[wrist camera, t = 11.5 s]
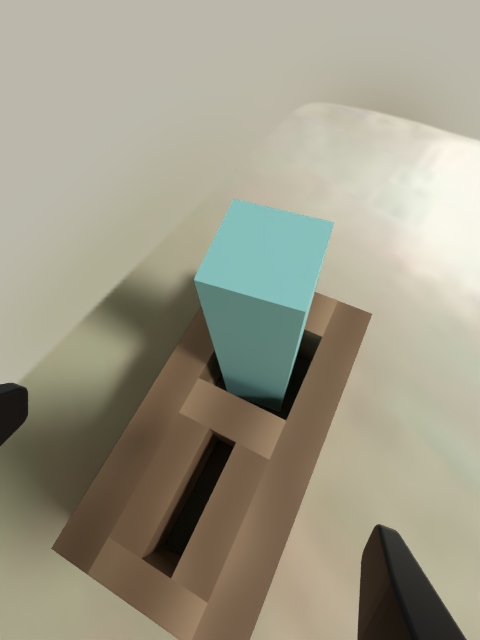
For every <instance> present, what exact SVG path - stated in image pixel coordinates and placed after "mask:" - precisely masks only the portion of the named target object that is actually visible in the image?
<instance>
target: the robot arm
mask: <svg viewBox="0 0 480 640" xmlns="http://www.w3.org/2000/svg"><path fill="white" fill-rule="evenodd" d="M27 416H28V391H27V389H26V388H25V387H23V386H20V385H18V384H15V383H6V384H0V446H1V445H2V444H3V443H4V442H5V441H6V440H7V439H8V438H9V437H10V436H11V435H12V434H13V433H14V432H15V431H16V430H17V429H18V428H19V427H20V426H21V425H22V424H23V423H24V421H25V420H26V418H27ZM358 640H466V638H465V636H464V635H463V633H462V632H461V630H460V629H459V627H458V625H457V624H456V622H455V621H454V619H453V618H452V616H451V614H450V613H449V611H448V610H447V608H446V607H445V605H444V603H443V602H442V600H441V599H440V597H439V596H438V594H437V592H436V591H435V589H434V588H433V586H432V585H431V583H430V581H429V580H428V578H427V577H426V575H425V574H424V572H423V570H422V569H421V567H420V566H419V564H418V562H417V561H416V559H415V558H414V556H413V555H412V553H411V551H410V550H409V548H408V547H407V545H406V544H405V542H404V540H403V539H402V537H401V536H400V534H399V533H398V532H397V531H396V530H394V529H391V528H389V527H386V526H383V525H381V524H378V525H376V526H375V527H374V529H373V531H372V533H371V535H370V537H369V540H368V542H367V544H366V546H365V548H364V551H363V554H362V560H361V578H360V597H359V617H358Z"/></svg>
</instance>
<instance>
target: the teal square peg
mask: <svg viewBox="0 0 480 640" xmlns="http://www.w3.org/2000/svg"><path fill="white" fill-rule="evenodd" d="M333 224H334V222H330V221H326V220H322V219H318V218H313V217H309V216H305V215H300V214H296V213H292V212H287V211H283V210H279V209H274V208H270V207H266V206H261V205H257V204H253V203H249V202H244V201H240V200H236V199H234V200H233V202H232V204H231V206H230V208H229V210H228V212H227V214H226V216H225V218H224V220H223V222H222V224H221V226H220V228H219V230H218V232H217V234H216V236H215V238H214V240H213V242H212V244H211V246H210V248H209V250H208V252H207V254H206V256H205V258H204V260H203V262H202V264H201V266H200V268H199V270H198V272H197V274H196V276H195V278H194V283H195V286H196V289H197V293H198V296H199V299H200V303H201V306H202V309H203V313H204V316H205V319H206V322H207V326H208V329H209V332H210V336H211V339H212V342H213V346H214V349H215V352H216V356H217V359H218V362H219V365H220V369H221V372H222V375H223V379H224V382H225V385H226V389H227V392H229V393H231V394H233V395H235V396H237V397H239V398H242V399H245V400H247V401H250V402H253V403H256V404H259V405H262V406H265V407H267V408H270V409H273V410H276V411H279V412H280V409H281V406H282V403H283V400H284V396H285V393H286V390H287V387H288V383H289V380H290V377H291V374H292V370H293V367H294V364H295V360H296V357H297V353H298V350H299V346H300V342H301V339H302V335H303V332H304V328H305V325H306V321H307V317H308V314H309V310H310V307H311V303H312V300H313V296H314V292H315V289H316V285H317V282H318V278H319V274H320V271H321V267H322V264H323V260H324V257H325V253H326V249H327V246H328V242H329V239H330V235H331V232H332V228H333Z"/></svg>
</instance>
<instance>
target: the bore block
mask: <svg viewBox="0 0 480 640" xmlns="http://www.w3.org/2000/svg"><path fill="white" fill-rule="evenodd" d="M371 316H372V314H371V313H368V312H366V311H363V310H360V309H358V308H355V307H353V306H350V305H347V304H345V303H342V302H340V301H337V300H334V299H332V298H329V297H326V296H324V295H321V294H319V293H316V292H314V296H313V300H312V303H311V307H310V310H309V314H308V317H307V321H306V325H305V328H304V332H303V335H302V339H301V342H300V346H299V350H298V353H297V355H298V356H300V357H303V358H305V359H307V360H310V361H312V362H311V365H310V367H309V369H308V371H307V374H306V376H305V378H304V381H303V383H302V385H301V388H300V390H299V392H298V395H297V397H296V399H295V402H294V404H293V406H292V409H291V411H290V413H289V416H288V418H287V420H284V419H282V418H280V417H278V416H276V415H274V414H272V413H270V412H268V411H266V410H263V409H261V408H259V407H257V406H255V405H253V404H251V403H249V402H247V401H245V400H243V399H241V398H239V397H237V396H235V395H233V394H231V393H229V392H227V391H225V390H223V389H220V388H218V387H216V386H215V384H216V382H217V380H218V378H219V376H220V375H221V373H222V372H221V369H220V365H219V362H218V359H217V356H216V352H215V349H214V346H213V342H212V339H211V336H210V332H209V329H208V326H207V322H206V319H205V316H204V313H203V309H202V306H201V308H200V309H199V311H198V313H197V314H196V316H195V317H194V319H193V321H192V322H191V324H190V325H189V327H188V329H187V330H186V332H185V334H184V335H183V337H182V338H181V340H180V342H179V343H178V345H177V346H176V348H175V350H174V351H173V353H172V355H171V356H170V358H169V359H168V361H167V363H166V364H165V366H164V367H163V369H162V371H161V372H160V374H159V376H158V377H157V379H156V380H155V382H154V384H153V385H152V387H151V388H150V390H149V392H148V393H147V395H146V396H145V398H144V400H143V401H142V403H141V405H140V406H139V408H138V409H137V411H136V413H135V414H134V416H133V417H132V419H131V421H130V422H129V424H128V426H127V427H126V429H125V430H124V432H123V434H122V435H121V437H120V438H119V440H118V442H117V443H116V445H115V446H114V448H113V450H112V451H111V453H110V455H109V456H108V458H107V459H106V461H105V463H104V464H103V466H102V467H101V469H100V471H99V472H98V474H97V476H96V477H95V479H94V480H93V482H92V484H91V485H90V487H89V488H88V490H87V492H86V493H85V495H84V497H83V498H82V500H81V501H80V503H79V505H78V506H77V508H76V509H75V511H74V513H73V514H72V516H71V517H70V519H69V521H68V522H67V524H66V526H65V527H64V529H63V530H62V532H61V534H60V535H59V537H58V538H57V540H56V542H55V543H54V545H53V547H52V548H51V549H52V550H54V551H55V552H57V553H58V554H59V555H61V556H62V557H64V558H65V559H66V560H68V561H69V562H71V563H72V564H74V565H75V566H76V567H78V568H79V569H81V570H82V571H83V572H85V573H86V574H88V575H89V576H90V577H92V578H93V579H95V580H96V581H97V582H99V583H100V584H102V585H103V586H104V587H106V588H107V589H109V590H110V591H111V592H113V593H114V594H116V595H117V596H119V597H120V598H121V599H123V600H124V601H126V602H127V603H128V604H130V605H131V606H133V607H134V608H135V609H137V610H138V611H140V612H141V613H142V614H144V615H145V616H147V617H148V618H149V619H151V620H152V621H154V622H155V623H156V624H158V625H159V626H161V627H162V628H164V629H165V630H166V631H168V632H169V633H171V634H172V635H173V636H175V637H176V638H178V639H179V640H250V638H251V635H252V632H253V630H254V627H255V624H256V622H257V619H258V616H259V614H260V611H261V608H262V606H263V603H264V600H265V598H266V595H267V592H268V590H269V587H270V584H271V582H272V579H273V576H274V574H275V571H276V568H277V566H278V563H279V560H280V558H281V555H282V552H283V550H284V547H285V544H286V542H287V539H288V537H289V534H290V531H291V529H292V526H293V523H294V521H295V518H296V515H297V513H298V510H299V507H300V505H301V502H302V499H303V497H304V494H305V491H306V489H307V486H308V483H309V481H310V478H311V475H312V473H313V470H314V467H315V465H316V462H317V459H318V457H319V454H320V451H321V449H322V446H323V443H324V441H325V438H326V435H327V433H328V430H329V427H330V425H331V422H332V419H333V417H334V414H335V411H336V409H337V406H338V403H339V401H340V398H341V395H342V393H343V390H344V388H345V385H346V382H347V380H348V377H349V374H350V372H351V369H352V366H353V364H354V361H355V358H356V356H357V353H358V350H359V348H360V345H361V342H362V340H363V337H364V334H365V332H366V329H367V326H368V324H369V321H370V318H371ZM217 440H220V441H222V442H223V443H225V444H227V445H229V446H231V447H233V450H232V452H231V455H230V457H229V459H228V461H227V463H226V465H225V467H224V469H223V471H222V473H221V475H220V477H219V480H218V482H217V484H216V486H215V488H214V490H213V492H212V494H211V496H210V498H209V500H208V503H207V505H206V507H205V509H204V511H203V513H202V515H201V517H200V519H199V521H198V523H197V525H196V528H195V530H194V532H193V534H192V536H191V538H190V540H189V542H188V544H187V546H186V548H185V551H184V553H183V555H182V557H181V556H179V555H177V554H176V553H174V552H173V551H171V550H170V549H168V548H166V547H165V544H166V542H167V540H168V538H169V536H170V534H171V532H172V530H173V528H174V526H175V524H176V522H177V520H178V518H179V516H180V514H181V512H182V510H183V508H184V506H185V504H186V502H187V500H188V498H189V496H190V494H191V492H192V490H193V488H194V486H195V484H196V482H197V480H198V478H199V476H200V474H201V472H202V470H203V468H204V466H205V464H206V462H207V460H208V458H209V456H210V454H211V452H212V450H213V448H214V446H215V444H216V442H217Z"/></svg>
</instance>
